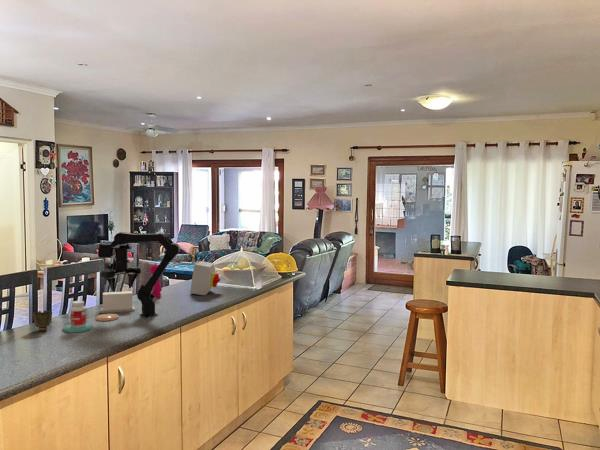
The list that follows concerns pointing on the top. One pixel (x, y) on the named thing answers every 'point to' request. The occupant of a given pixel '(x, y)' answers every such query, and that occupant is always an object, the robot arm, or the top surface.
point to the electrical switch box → (203, 278)
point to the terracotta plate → (107, 317)
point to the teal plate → (76, 330)
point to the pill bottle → (78, 314)
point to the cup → (42, 319)
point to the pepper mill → (157, 286)
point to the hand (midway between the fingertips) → (121, 289)
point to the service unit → (117, 302)
